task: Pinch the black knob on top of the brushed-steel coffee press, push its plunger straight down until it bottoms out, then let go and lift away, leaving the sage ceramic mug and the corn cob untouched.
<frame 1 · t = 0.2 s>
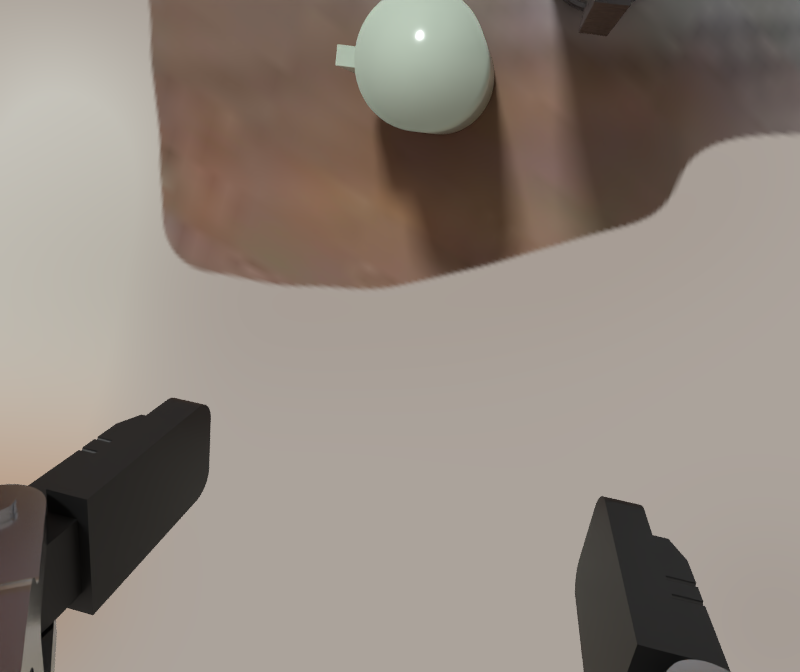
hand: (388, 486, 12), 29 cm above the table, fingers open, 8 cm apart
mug: (442, 80, 37), on the table
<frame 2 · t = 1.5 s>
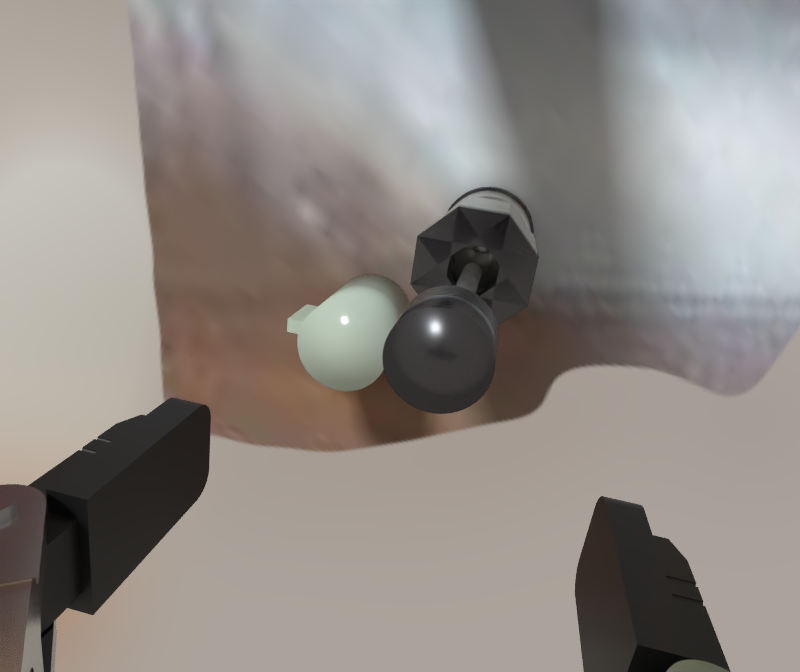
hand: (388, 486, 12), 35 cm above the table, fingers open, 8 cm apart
press: (487, 232, 45), on the table
plunger: (459, 305, 25), point 21 cm above the table, slide at 0.0 cm
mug: (373, 312, 49), on the table
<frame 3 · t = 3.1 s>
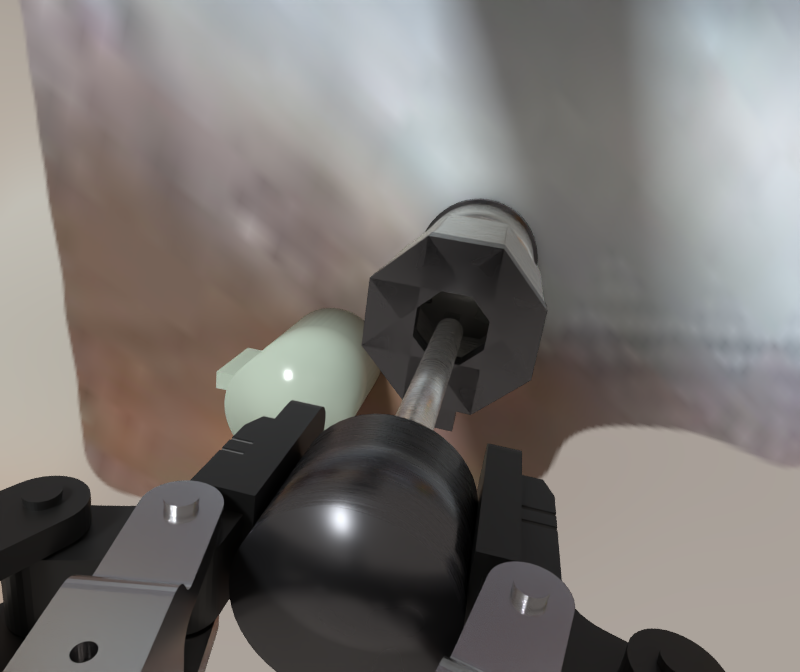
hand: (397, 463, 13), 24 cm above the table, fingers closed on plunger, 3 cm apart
press: (477, 257, 35), on the table
plunger: (418, 412, 15), point 21 cm above the table, slide at 0.0 cm, touching gripper
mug: (334, 355, 39), on the table
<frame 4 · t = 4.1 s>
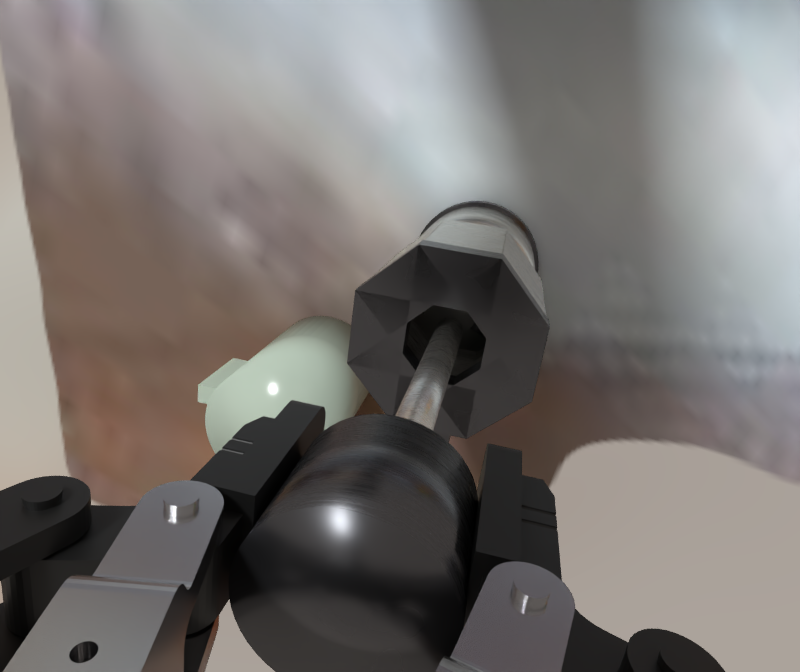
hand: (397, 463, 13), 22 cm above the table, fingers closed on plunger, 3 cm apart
press: (475, 263, 33), on the table
plunger: (418, 412, 15), point 19 cm above the table, slide at 2.0 cm, touching gripper
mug: (325, 365, 37), on the table
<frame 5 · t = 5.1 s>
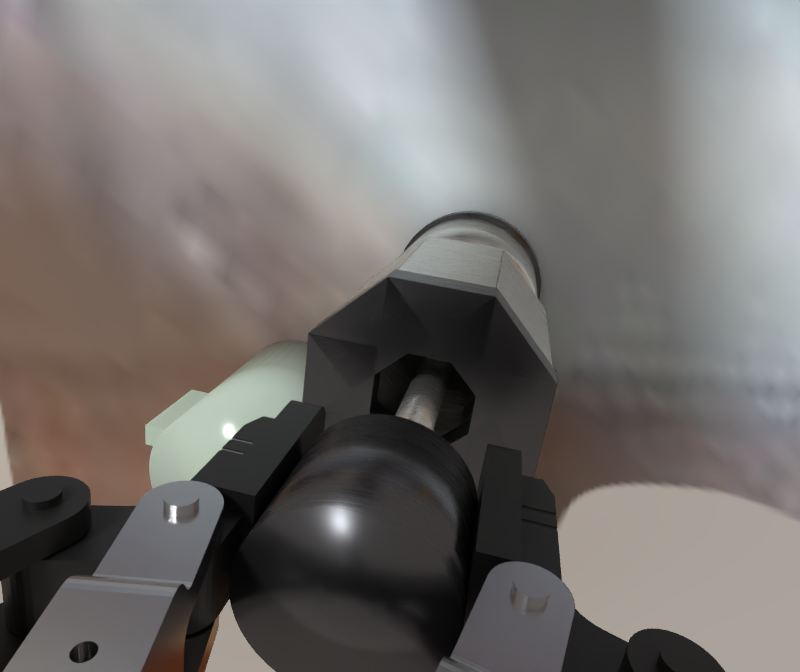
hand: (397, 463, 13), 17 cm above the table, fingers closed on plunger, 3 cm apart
press: (468, 282, 29), on the table
plunger: (418, 412, 15), point 14 cm above the table, slide at 6.7 cm, touching gripper
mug: (298, 395, 32), on the table
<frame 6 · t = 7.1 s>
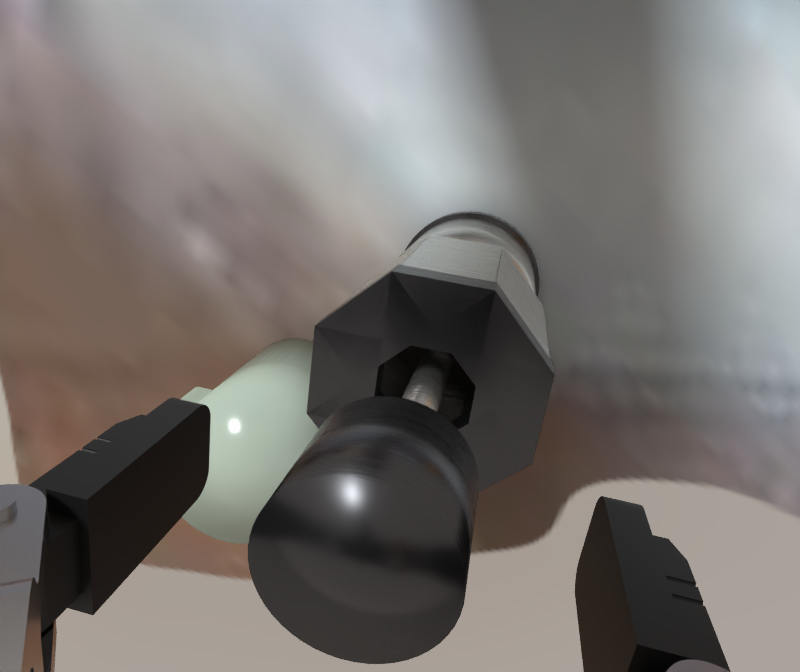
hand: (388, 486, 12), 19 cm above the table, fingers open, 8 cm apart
press: (467, 281, 29), on the table
plunger: (421, 400, 16), point 14 cm above the table, slide at 6.8 cm
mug: (301, 392, 33), on the table
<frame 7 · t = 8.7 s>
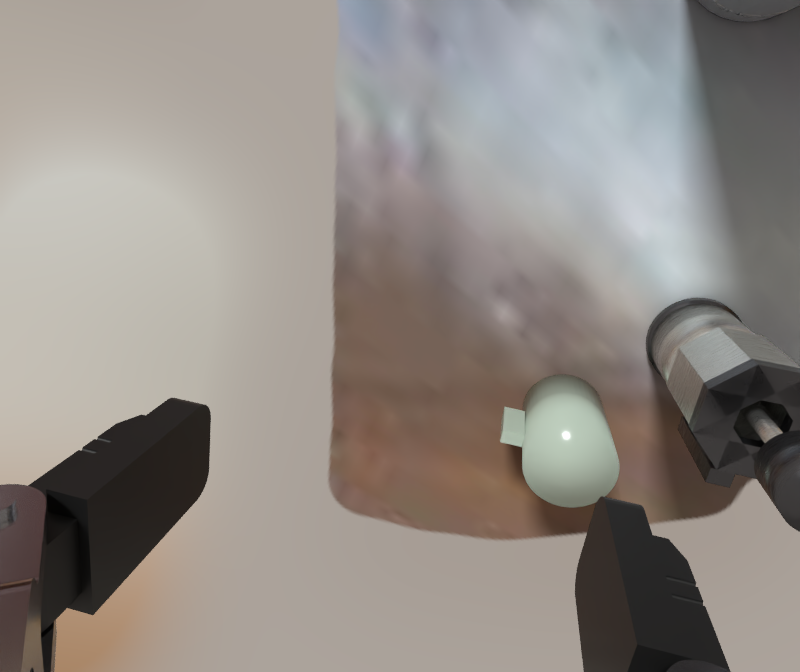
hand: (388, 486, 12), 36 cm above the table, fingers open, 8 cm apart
press: (693, 341, 45), on the table
plunger: (765, 427, 32), point 14 cm above the table, slide at 6.8 cm
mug: (562, 410, 49), on the table
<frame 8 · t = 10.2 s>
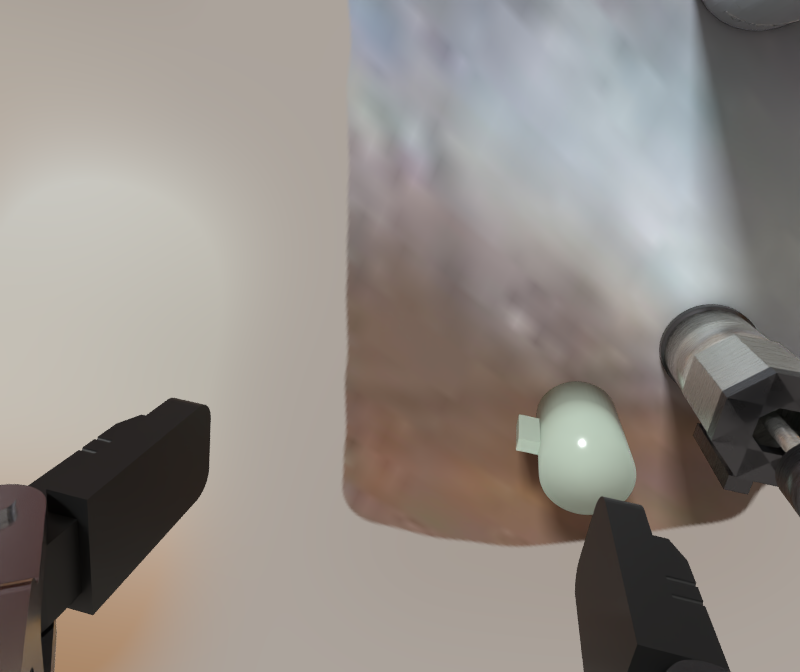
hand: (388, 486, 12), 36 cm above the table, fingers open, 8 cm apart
press: (707, 347, 45), on the table
plunger: (784, 435, 32), point 14 cm above the table, slide at 6.8 cm
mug: (575, 417, 49), on the table
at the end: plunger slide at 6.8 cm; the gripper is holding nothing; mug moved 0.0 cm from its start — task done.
